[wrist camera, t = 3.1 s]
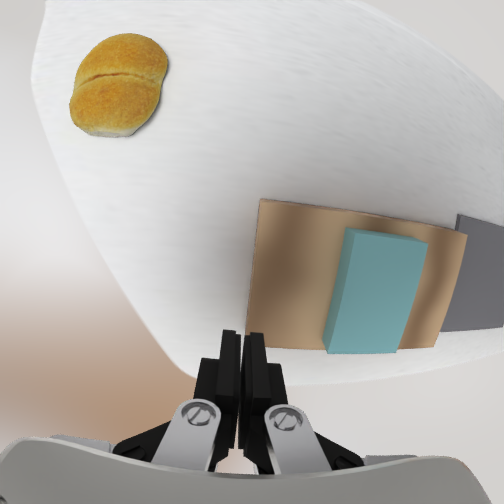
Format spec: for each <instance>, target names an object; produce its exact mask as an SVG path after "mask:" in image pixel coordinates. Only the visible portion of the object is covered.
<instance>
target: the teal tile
mask: <svg viewBox="0 0 504 504" xmlns="http://www.w3.org/2000/svg"><path fill="white" fill-rule="evenodd" d="M427 248H428V243H426V242H423V241H421V240H419V239H417V238H415V237H409V236H402V235H396V234H389V233H383V232H376V231H369V230H362V229H355V228H348V227H345V233H344V239H343V245H342V250H341V256H340V261H339V266H338V271H337V276H336V281H335V286H334V290H333V295H332V299H331V304H330V308H329V313H328V317H327V321H326V325H325V329H324V333H323V337H322V341H323V344H324V346H325V349H326V351H327V354H376V353H396V351H397V348H398V346H399V343H400V340H401V338H402V335H403V332H404V329H405V326H406V323H407V320H408V317H409V314H410V311H411V308H412V305H413V302H414V298H415V295H416V291H417V288H418V284H419V281H420V277H421V273H422V269H423V265H424V261H425V257H426V252H427Z"/></svg>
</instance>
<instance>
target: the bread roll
mask: <svg viewBox="0 0 504 504" xmlns="http://www.w3.org/2000/svg"><path fill="white" fill-rule="evenodd" d="M167 65H168V59H167V56H166V54H165V52H164V51H163V50H162V48H161V47H160V46H159V45H158V44H157V43H156V42H155V41H153V40H152V39H151V38H148V37H145V36H142V35H138V34H132V33H127V34H119V35H115V36H112V37H109V38H107V39H105V40H104V41H102V42H101V43H99V44H98V45H97V46H96V47H94V48H93V49H92V50H91V51H90V53H89V54H88V55H87V56H86V57H85V58H84V60H83V61H82V63H81V64H80V66H79V68H78V70H77V73H76V77H75V82H74V91H73V95H72V97H71V100H70V103H69V107H70V115H71V118H72V121H73V123H74V124H75V125H76V126H77V127H79V128H80V129H81V130H83V131H85V132H86V133H88V134H89V135H93V136H102V137H119V136H124V137H127V136H130V135H132V134H133V133H134V132H135V131H136V130H137V129H138V128H139V127H140V126H142V125H143V124H144V123H145V122H146V121H147V120H148V119H149V118H150V117H151V115H152V113H153V112H154V110H155V108H156V106H157V103H158V101H159V97H160V91H161V85H162V81H163V78H164V76H165V73H166V70H167Z"/></svg>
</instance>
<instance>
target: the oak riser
mask: <svg viewBox="0 0 504 504" xmlns="http://www.w3.org/2000/svg"><path fill="white" fill-rule="evenodd" d="M345 227H348V228H355V229H362V230H369V231H376V232H383V233H389V234H396V235H402V236H409V237H415V238H417V239H419V240H421V241H423V242H426V243H428V248H427V252H426V257H425V261H424V265H423V269H422V273H421V277H420V281H419V284H418V288H417V291H416V295H415V298H414V302H413V305H412V308H411V311H410V314H409V317H408V320H407V323H406V326H405V329H404V332H403V335H402V338H401V340H400V343H399V346H398V348H397V349H413V348H428V347H434V344H435V342H436V340H437V337H438V334H439V332H440V329H441V327H442V324H443V321H444V318H445V316H446V313H447V310H448V307H449V304H450V301H451V298H452V295H453V291H454V288H455V285H456V281H457V278H458V274H459V270H460V266H461V262H462V258H463V254H464V250H465V245H466V241H467V236H468V235H466V234H464V233H461V232H458V231H455V230H453V229H449V228H444V227H439V226H434V225H429V224H424V223H419V222H414V221H409V220H403V219H398V218H392V217H386V216H381V215H375V214H369V213H362V212H356V211H350V210H343V209H336V208H330V207H323V206H315V205H308V204H300V203H292V202H284V201H276V200H267V199H260V205H259V214H258V222H257V231H256V240H255V249H254V258H253V267H252V276H251V284H250V293H249V302H248V311H247V320H246V328H245V335H250V332H258V333H263V334H264V342H265V347H271V348H288V349H310V350H326V349H325V346H324V344H323V341H322V337H323V333H324V329H325V325H326V321H327V317H328V313H329V308H330V304H331V299H332V295H333V290H334V286H335V281H336V276H337V271H338V266H339V261H340V256H341V250H342V245H343V239H344V233H345Z"/></svg>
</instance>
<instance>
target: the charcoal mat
mask: <svg viewBox="0 0 504 504" xmlns="http://www.w3.org/2000/svg"><path fill="white" fill-rule="evenodd" d="M455 231H458V232H461V233H464V234H466V235H468V236H467V241H466V245H465V250H464V254H463V258H462V262H461V266H460V270H459V274H458V278H457V281H456V285H455V288H454V291H453V295H452V298H451V301H450V304H449V307H448V310H447V313H446V316H445V318H444V321H443V324H442V327H441V329H440V332H452V331H467V330H479V329H490V328H500V327H503V324H504V227H501V226H498V225H494V224H491V223H488V222H484V221H481V220H477V219H474V218H470V217H466V216H462V215H459V214H458V217H457V223H456V228H455Z"/></svg>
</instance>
